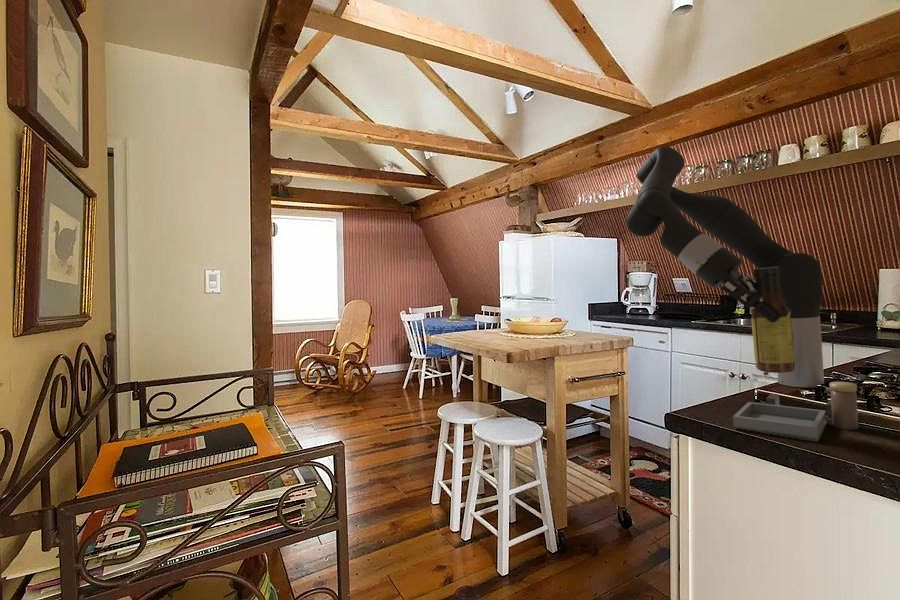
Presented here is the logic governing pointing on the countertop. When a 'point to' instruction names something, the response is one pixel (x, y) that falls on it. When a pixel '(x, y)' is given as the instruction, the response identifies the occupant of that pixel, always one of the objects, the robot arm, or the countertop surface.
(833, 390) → the lidded beige canister
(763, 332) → the sauce bottle
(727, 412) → the countertop surface
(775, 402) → the tray
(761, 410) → the tray
